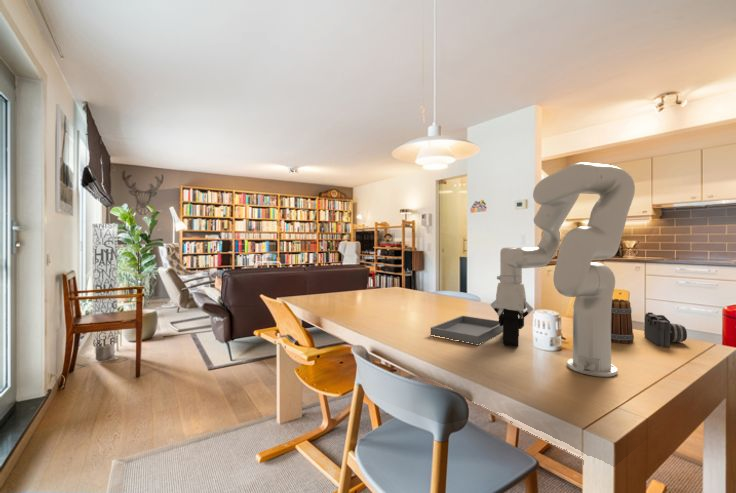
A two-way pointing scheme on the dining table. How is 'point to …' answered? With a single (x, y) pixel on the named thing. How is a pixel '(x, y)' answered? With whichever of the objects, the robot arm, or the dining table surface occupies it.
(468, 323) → the tray
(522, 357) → the dining table surface
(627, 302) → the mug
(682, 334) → the camera
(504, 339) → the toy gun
